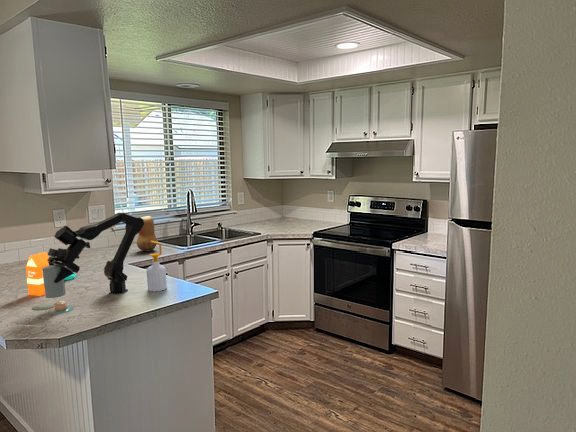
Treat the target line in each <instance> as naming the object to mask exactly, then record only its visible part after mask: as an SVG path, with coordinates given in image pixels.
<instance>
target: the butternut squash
mask: <svg viewBox="0 0 576 432" xmlns="http://www.w3.org/2000/svg"><path fill="white" fill-rule="evenodd" d="M140 218H142V219H143V220H144V226H143V228H142V229H141V231H140V232H139V233H138V236H137V240H136V246H137V248H138V249H139V250H141V251H143V252H151V251H153V250H154V249H156V247H157V245H158V244H156V243H152V242H151V241H157V242H158V240H157V237H156V234H155V233H156V232H155V223H154V222H155V220H154V218H153V217H152V216H151V215H147V216H146V215H145V216H142V217H140Z"/></svg>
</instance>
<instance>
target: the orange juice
mask: <svg viewBox="0 0 576 432" xmlns="http://www.w3.org/2000/svg"><path fill="white" fill-rule="evenodd" d="M49 257H50V256H49V255H48V252H46V251H43V252H40V253H36V254H31V255H29V258H28V260H27V263H26V265H25V271H26V272H25V273H26V283H27V290H28V292H27V293H28V296H38V297H42V296H44V295H45V289H44V280H43V272H42V268H44V267H46V266H49V264H48V261H47V260H48V258H49Z"/></svg>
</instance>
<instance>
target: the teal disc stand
mask: <svg viewBox="0 0 576 432" xmlns="http://www.w3.org/2000/svg"><path fill="white" fill-rule="evenodd" d="M53 303H54V306H55V307H54V308H51V309H48V311H47V312H48V314H50V315H51V314H52V315H59V314H65V313H68V312H71V311H73V310H74V309H75V307H74V306H73V305H68V302H67V301H66V300H61V301H57V302H53Z"/></svg>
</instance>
